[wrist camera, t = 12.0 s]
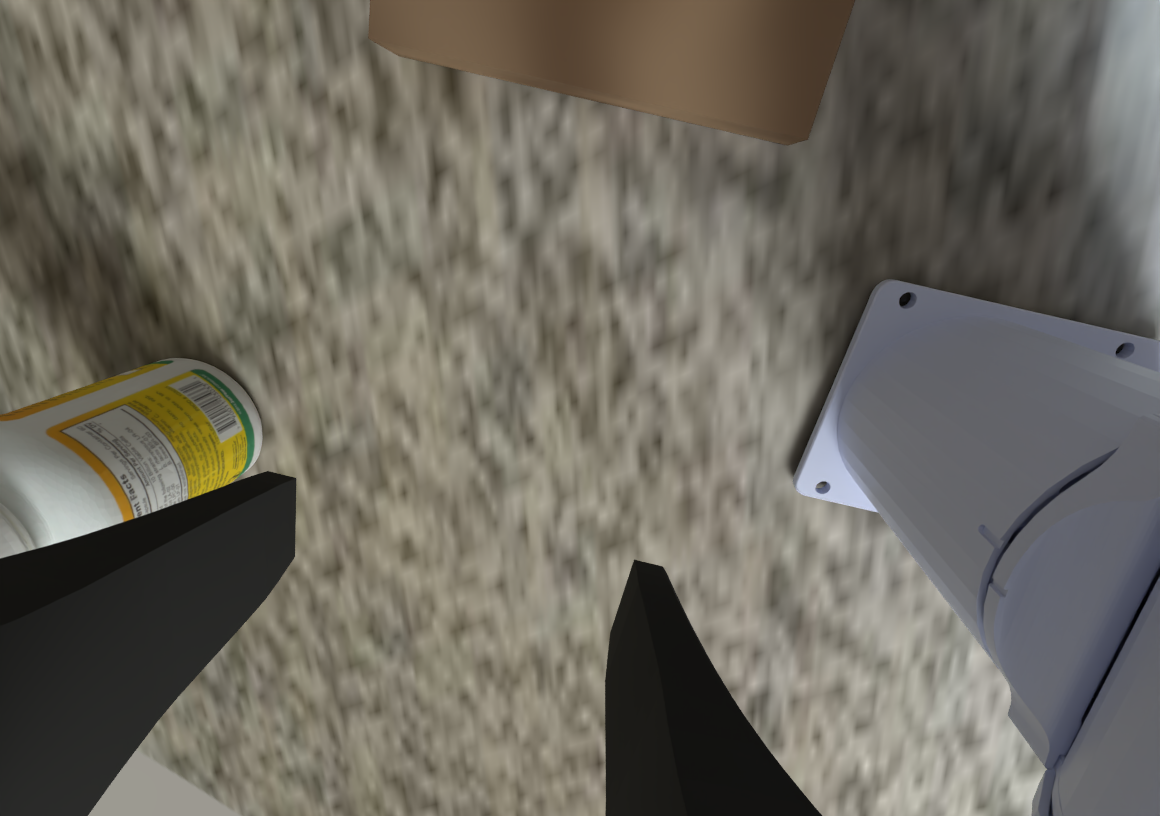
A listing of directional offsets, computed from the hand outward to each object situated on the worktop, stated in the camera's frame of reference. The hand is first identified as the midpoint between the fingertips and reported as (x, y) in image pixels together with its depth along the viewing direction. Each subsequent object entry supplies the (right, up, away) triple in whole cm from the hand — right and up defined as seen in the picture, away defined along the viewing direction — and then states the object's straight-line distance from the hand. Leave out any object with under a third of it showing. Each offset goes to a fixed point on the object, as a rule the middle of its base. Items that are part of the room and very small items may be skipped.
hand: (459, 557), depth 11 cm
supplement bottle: (-13, +3, +11) cm, 17 cm away
